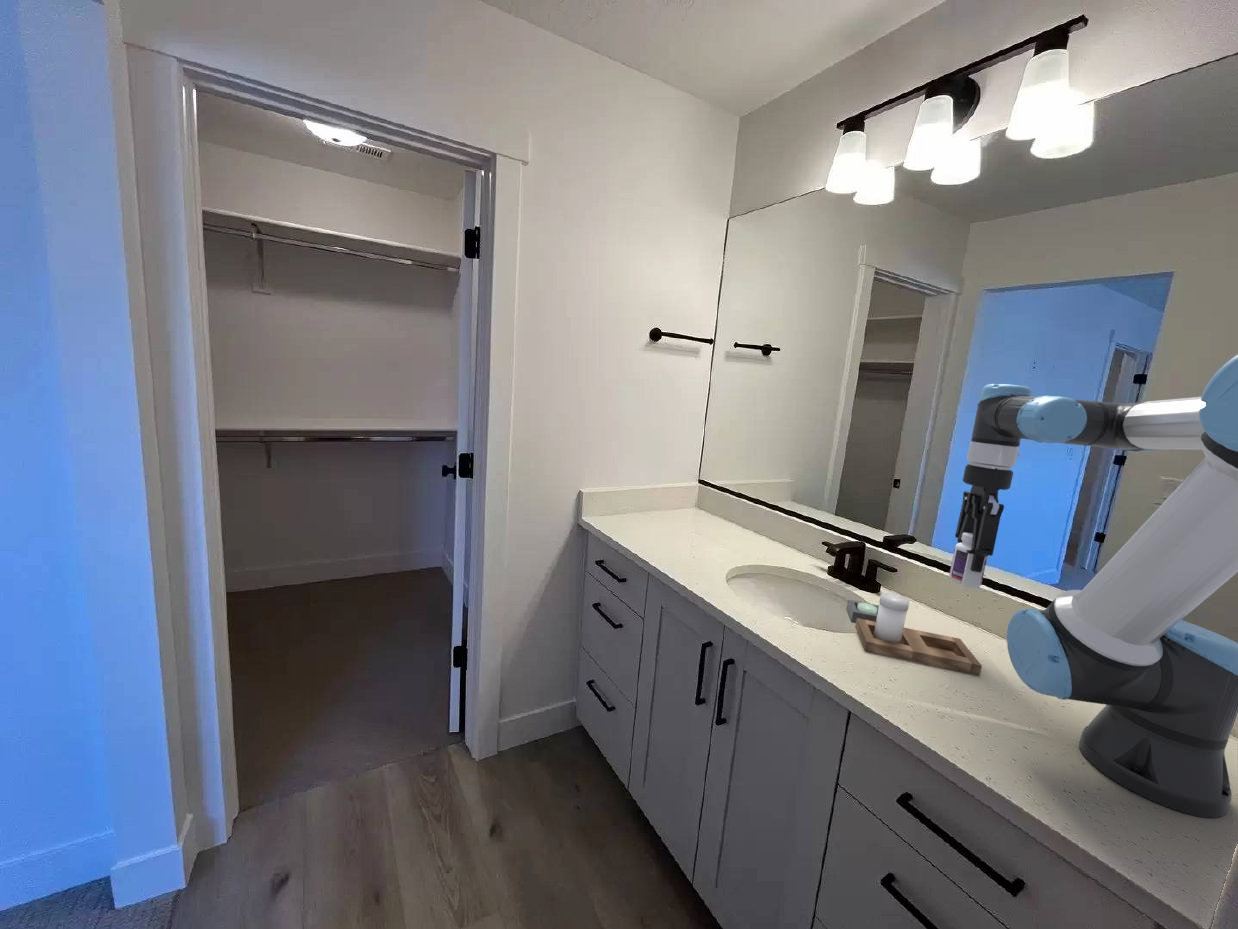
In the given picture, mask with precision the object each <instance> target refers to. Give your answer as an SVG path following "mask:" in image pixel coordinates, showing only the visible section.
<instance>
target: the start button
mask: <svg viewBox="0 0 1238 929" xmlns="http://www.w3.org/2000/svg"><path fill="white" fill-rule="evenodd" d="M871 604H872V603H869V604H868V602H864V603H858V606H857V610H858V611H862V612H867V613H872V614H876V613H877V608H876V607H875V606H873V605H871Z"/></svg>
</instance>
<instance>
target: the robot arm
mask: <svg viewBox="0 0 1238 929" xmlns="http://www.w3.org/2000/svg"><path fill="white" fill-rule="evenodd" d="M975 413H976V414H975V418H974V422H973V423H974V424H973V429H972V434H971V440H970V442H969V445H968V446H969V447H968V450H967V456H966V461H967V462H968V464H967V465H965V467H964V473H963V477H962V482H963V483H964V484H967V485H969V486H971V488H970V490H969V491H966V490H965V491H963V496H962V504H961V509H960V512H959V513H960V514H959V517H958V522H957V526H956V530H955V534H954V535H955V536H954V538H957V540H956V541H957V544H958V543H962V540H961V537H962V534H963V533H973V539H972V548H971V550H967V553H968V556H967V561H966V566H965V570H964V575H963V580H962V586H964V587H969V588H975V589H980V587H981V586H980V582H981V577H982V573H983V568H984V564H985V559H986V556H988V557H991V556H992V557H993V555H994V550H995V544H996V541H997V536H998V531H999V525H1000V522H1001V516H1002V514H1003V511H1004V509H1005V505H1004V504H1002V503H999V490H1002V491H1005V490H1006V491H1007V490H1010V489H1011V485H1012V480H1013V477H1014V472H1013V470H1011V469H1013V468H1014V467H1015V466H1016V462H1017V457H1020V455H1021V452H1020V451H1019V448H1020V446H1021V445H1020V444H1021V440H1028V441H1034V442H1037V443H1046V444H1047V443H1048V444H1063V445H1074V446H1084V447H1097V448H1105V449H1114V450H1120V451H1124V452H1125V451H1127V452H1153V451H1157V450H1183V451H1184V450H1191V451H1195V450H1197V451H1200V450H1201V451H1203V455H1204V456H1205V457H1204V458H1203V459H1202V460H1201V461H1200V463H1199V464H1197V466H1196V467H1195V468H1194V469H1193V470H1192V471H1191V473H1189V474H1188V476H1187V477H1186V478H1185V479H1184V480H1183V481H1182V482H1181V483H1180V484H1179V485H1178V486H1177V488H1176V489H1174V491H1173V492H1172V493H1171V494H1170V495H1169V496H1168V497H1167V498H1166V499H1165V500H1164V501H1163V502H1162V504H1160V505H1159V507H1158V508H1157V509H1156V510H1155V511H1154V512H1153V513H1152V515H1150V516H1149V518H1148V519H1146V521H1145V522H1144V523H1143V524H1142V525H1141V526H1140V527H1139V528H1138V530H1136V531H1135V533H1134V534H1133V535H1131V537H1130V538H1129V539H1128V540H1127V541H1126V542H1125V543H1124V544H1123V546H1122V547H1120V549H1119V550H1117V552H1116V553H1115V554H1114V555H1113V556H1112V557H1111V559H1110V560H1108V562H1107V563H1106V564H1105V565H1104V566H1103V567H1102V568H1101V569H1100V570H1099V572H1097V573H1096V574H1095V576H1094V577H1093V578H1092V579H1091V580H1090V581H1089V582H1088V583H1087V584H1086V585H1085V587H1083V589H1069V590H1066V591H1065V590H1064V591H1063V592H1061V593H1060V594H1058V595H1057V596H1056V597H1055V598H1054V599H1053V601H1051V603H1050V604H1049V605H1048V606H1047V607H1046V608H1045V609H1043V610H1038V609H1036V608H1033V607H1032V608H1031V607H1030V608H1023V609H1019V610H1017V611H1015V613H1014V614H1013V615H1011V617H1010V619H1009V621H1008V623H1007V629H1006V643H1007V644H1006V645H1007V646H1006V647H1007V651H1008V655H1009V660H1010V661H1011V664H1012V667H1013V669H1014V671H1015V673H1016V674H1017V676H1018V677H1019V679H1020V680H1021V681H1022V682H1023V683H1024V684H1025V686H1027V687H1028V688H1029V689H1030V690H1032V691H1034V692H1036V693H1038V694H1040V695H1045V696H1050V697H1055V698H1057V699H1059V700H1062V701H1063V700H1069V701H1070V700H1071V701H1077V702H1083V703H1085V702H1086V703H1091V704H1092V703H1093V704H1100V705H1105V706H1103V708H1102V709H1101V710H1100V711H1099V713H1097V715H1095V717H1093V719H1092V720H1091V721H1090V723H1089V724H1088V725H1086V726H1085V727H1084V728H1083V730H1082V731H1081V735H1080V739H1079V743H1078V747H1079V750H1080V752H1081V754H1082V755H1083V757H1084V758H1085V759H1086V760H1087V761H1088V762H1089V763H1090V764H1091V765H1093V767H1094V768H1096V769H1097V770H1098V771H1100V772H1101V773H1102V774H1104V775H1105V776H1106V777H1108V778H1110V779H1111V780H1112V781H1114V782H1115V783H1117V784H1119V785H1121V786H1122V787H1124V788H1125V789H1128V790H1129V791H1132V792H1133V793H1135V794H1137V795H1139V796H1141V797H1143V798H1146V799H1147V800H1150V801H1152V802H1154V803H1157V804H1159V805H1161V806H1164V807H1167V808H1169V809H1172V810H1175V811H1178V812H1181V813H1184V814H1188V815H1192V816H1196V817H1204V818H1221V817H1223V816H1225V815H1226V814H1228V813H1227V812H1228V810H1229V807H1230V806H1231V805H1230V804H1231V802H1232V790H1231V784H1230V777H1229V772H1228V766H1227V761H1226V755H1225V752H1226V747H1227V744H1228V741H1229V740H1230V739H1229V738H1230V735H1231V733H1232V730H1233V727H1234V724H1235V722H1236V718H1237V716H1238V642H1236V641H1234V640H1232V639H1230V638H1228V637H1226V636H1223V635H1221V634H1219V633H1217V632H1214V631H1212V630H1209V629H1207V628H1204V627H1202V626H1199V625H1197V624H1193V623H1191V622H1188V621H1185V620H1183V619H1184V618H1185V617H1186V616H1188V615H1189V614H1190V613H1191V612H1192V611H1193V610H1194V609H1196V608H1197V607H1198V606H1200V604H1202V603H1203V602H1204V601H1205V600H1206V599H1207V598H1209V597H1210V596H1212V595H1213V594H1214V593H1215V592H1216V591H1217V590H1218V589H1220V587H1222V586H1223V585H1224V584H1225V583H1227V582H1228V581H1229V580H1230V579H1231V578H1232V577H1234V576H1235V575H1236V574H1238V354H1236V355H1234V356H1233V357H1232V358H1230V359H1229V360H1228V361H1227V362H1226V363H1225V364H1223V365H1222V366H1221V367H1220V368H1219V369H1218V370H1217V371H1216V372H1215V374H1214V375H1213V376H1212V377H1211V379H1210V380H1209V381H1208V383H1207V384H1206V386H1205V388H1204V390H1203V393H1202V395H1201V396H1193V397H1183V398H1182V397H1181V398H1171V399H1160V400H1148V401H1138V402H1127V403H1125V402H1124V403H1123V402H1122V403H1121V402H1120V403H1119V402H1118V403H1117V402H1108V401H1097V400H1096V401H1095V400H1088V399H1087V400H1085V399H1076V398H1070V397H1065V396H1062V395H1061V396H1059V395H1052V394H1051V395H1039V396H1037V395H1032V389H1031V388H1030V387H1029V386H1027V385H1019V384H1018V385H1017V384H1009V383H1007V384H1005V383H1004V384H1003V383H999V384H997V383H991V384H990V383H988V384H986V385H984V387H983V388H982V389H981V393H980V397H979V400H978V402H977V408H976V412H975ZM1010 468H1011V469H1010ZM979 586H980V587H979Z"/></svg>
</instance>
